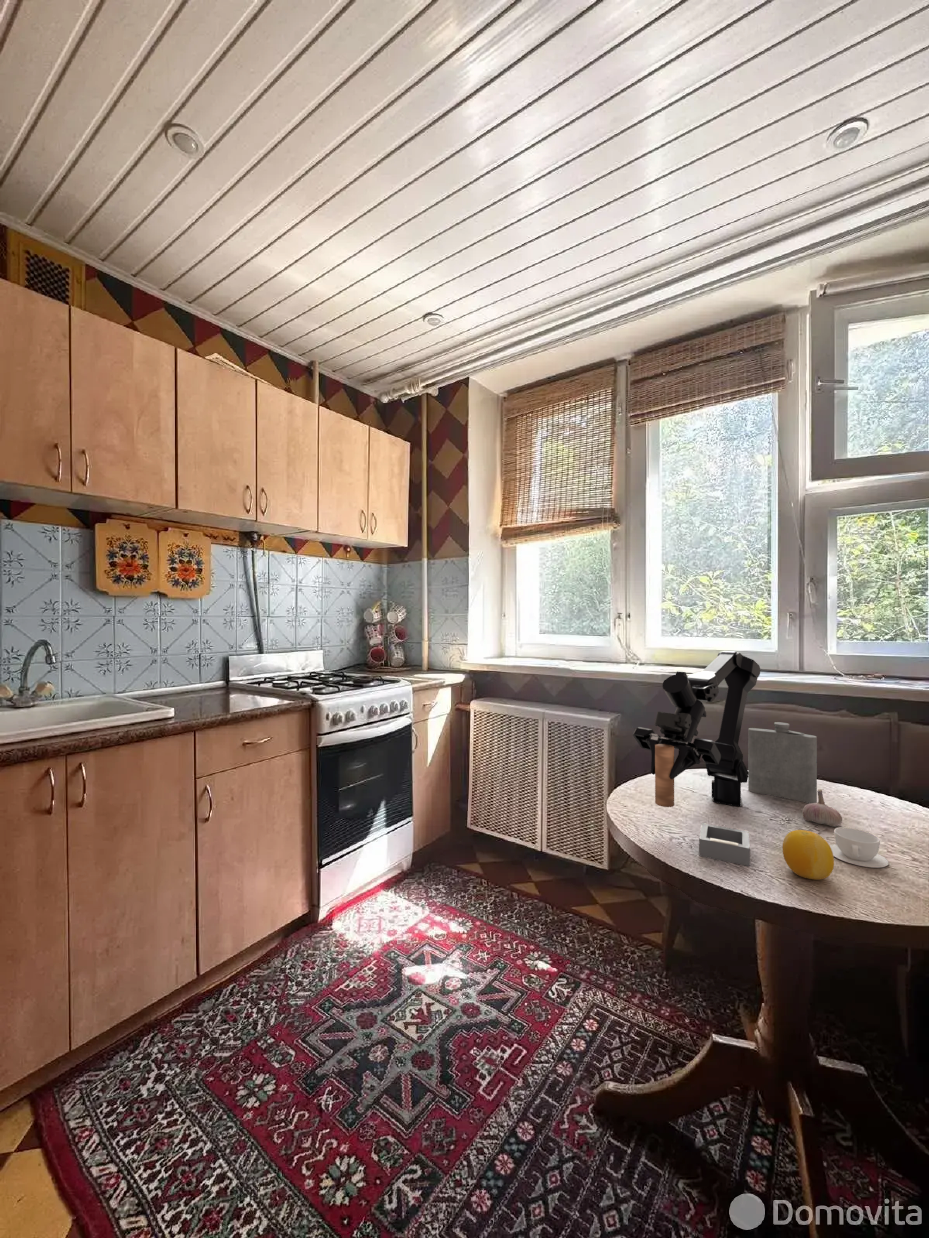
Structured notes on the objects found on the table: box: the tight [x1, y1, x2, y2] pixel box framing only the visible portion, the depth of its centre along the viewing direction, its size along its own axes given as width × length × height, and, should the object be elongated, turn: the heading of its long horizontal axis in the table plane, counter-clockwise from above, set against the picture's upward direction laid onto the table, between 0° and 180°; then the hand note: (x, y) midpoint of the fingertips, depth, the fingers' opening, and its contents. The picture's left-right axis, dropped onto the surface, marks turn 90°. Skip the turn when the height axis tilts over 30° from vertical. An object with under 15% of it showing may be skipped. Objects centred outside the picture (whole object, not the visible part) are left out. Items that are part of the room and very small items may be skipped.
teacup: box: [829, 826, 890, 868], centre depth 101 cm, size 10×10×5 cm
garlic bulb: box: [802, 788, 843, 828], centre depth 118 cm, size 8×7×8 cm
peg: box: [654, 744, 675, 808], centre depth 111 cm, size 4×4×13 cm
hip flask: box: [747, 721, 818, 804], centre depth 136 cm, size 16×4×20 cm, turn 50°
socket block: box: [698, 822, 751, 867], centre depth 103 cm, size 9×9×4 cm
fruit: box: [781, 829, 835, 881], centre depth 94 cm, size 9×8×8 cm
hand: (661, 775), depth 111 cm, fingers closed on peg, 4 cm apart
